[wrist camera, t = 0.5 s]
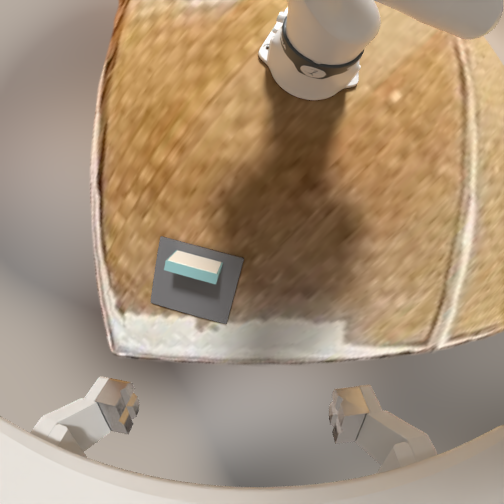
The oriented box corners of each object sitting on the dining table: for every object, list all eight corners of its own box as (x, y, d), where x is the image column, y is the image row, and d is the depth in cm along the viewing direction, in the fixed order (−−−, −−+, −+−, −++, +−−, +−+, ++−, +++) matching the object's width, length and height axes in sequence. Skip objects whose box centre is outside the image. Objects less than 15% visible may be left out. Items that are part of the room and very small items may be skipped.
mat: (161, 236, 51) (160, 237, 51) (244, 258, 52) (243, 259, 51) (151, 301, 55) (150, 302, 54) (226, 322, 56) (226, 324, 55)
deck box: (176, 249, 51) (165, 259, 45) (223, 262, 52) (218, 274, 45) (174, 258, 52) (164, 270, 45) (220, 271, 52) (215, 284, 46)
